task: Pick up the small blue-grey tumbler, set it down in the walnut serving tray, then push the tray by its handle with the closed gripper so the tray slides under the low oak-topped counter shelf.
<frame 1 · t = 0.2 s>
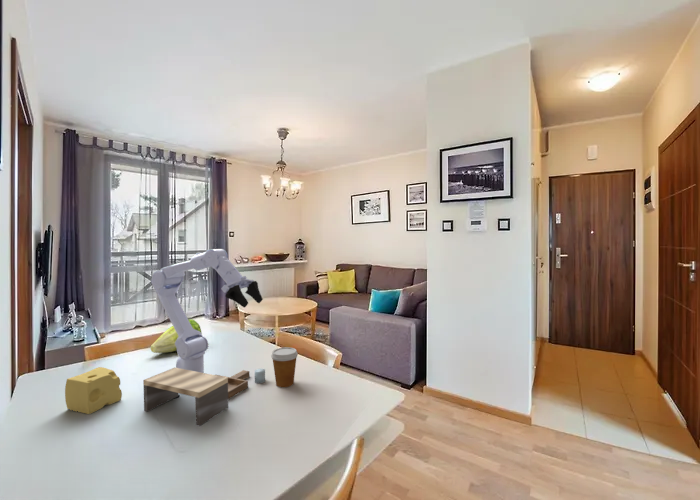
hand: (253, 303, 113), 31 cm above the table, fingers open, 7 cm apart
disposable coffee cup: (284, 384, 120), on the table
tray: (221, 389, 115), on the table
tumbler: (259, 381, 122), on the table
counter shelf: (186, 409, 102), on the table
lettuce: (176, 350, 159), on the table
cheese: (94, 405, 105), on the table
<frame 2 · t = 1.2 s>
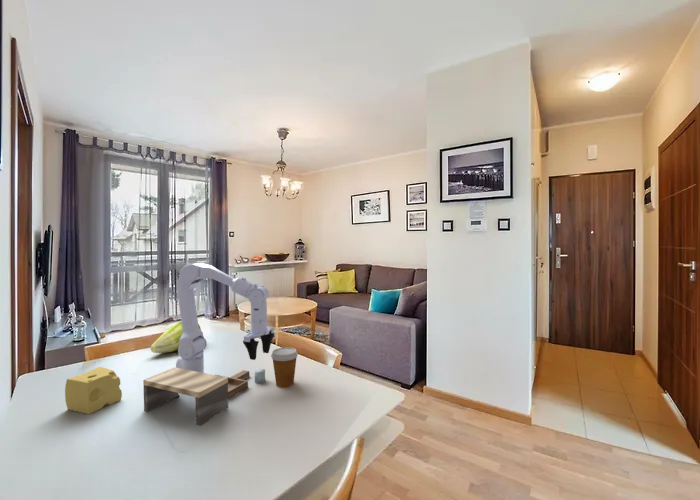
hand: (259, 355, 122), 9 cm above the table, fingers open, 7 cm apart
nothing on the table moved.
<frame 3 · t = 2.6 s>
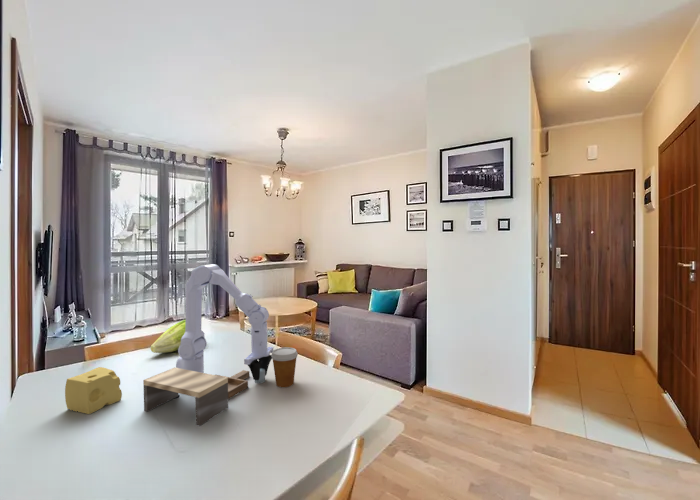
hand: (259, 377, 122), 1 cm above the table, fingers closed on tumbler, 4 cm apart
tumbler: (259, 381, 122), on the table, touching gripper
everything else where it was.
when the fingers open (3 cm above the table, at t = 5.9 s): tumbler stays where it is, resting on tray.
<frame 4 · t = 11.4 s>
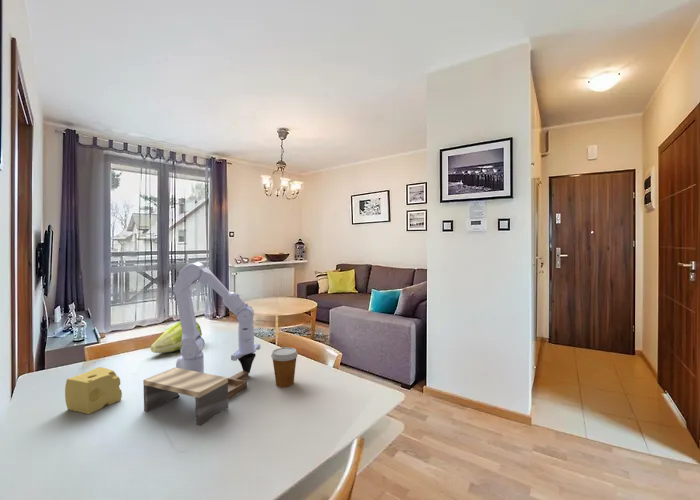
hand: (246, 373, 127), 1 cm above the table, fingers closed
tray: (220, 390, 115), on the table, touching gripper, tumbler
tumbler: (216, 391, 113), point 1 cm above the table, touching tray
everything else where it was.
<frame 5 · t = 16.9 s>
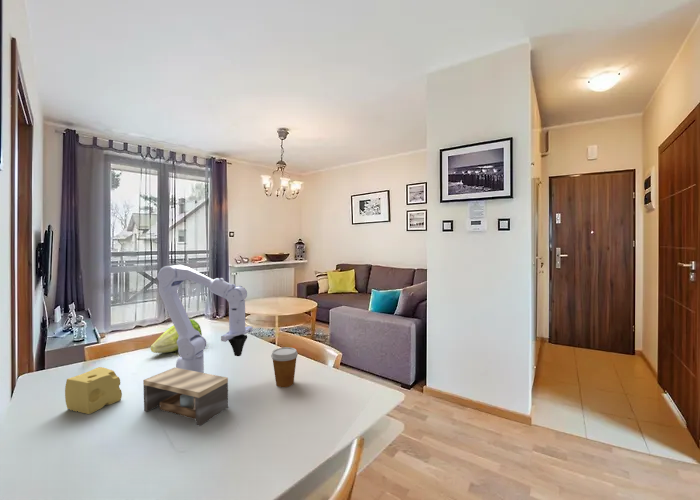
hand: (237, 355, 123), 9 cm above the table, fingers closed
tray: (190, 406, 103), on the table, touching tumbler
tumbler: (187, 408, 101), point 1 cm above the table, touching tray
everything else where it was.
at the end: tray inside the target area (1.7 cm from its centre), on the table; tumbler inside the target area on the tray (2.0 cm from its centre), point 0.6 cm above the tray's base; tumbler tilted 0° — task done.
